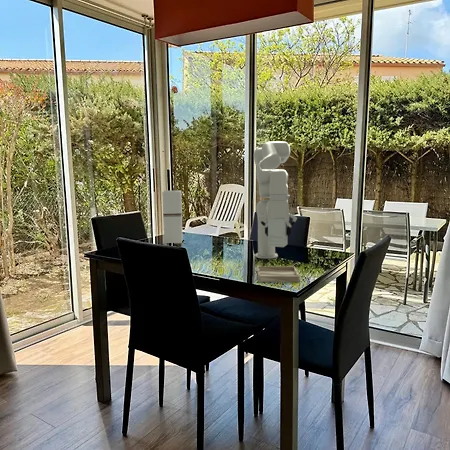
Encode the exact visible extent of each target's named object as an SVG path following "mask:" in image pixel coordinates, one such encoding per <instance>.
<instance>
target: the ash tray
mask: <svg viewBox="0 0 450 450" xmlns="http://www.w3.org/2000/svg"><path fill="white" fill-rule="evenodd" d="M256 268H257V270H256V271H257V279H258V283H300V282H301V276H300V274H299V272H298V269H297V268H296V266H257V267H256Z"/></svg>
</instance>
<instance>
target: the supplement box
mask: <svg viewBox="0 0 450 450" xmlns="http://www.w3.org/2000/svg"><path fill="white" fill-rule="evenodd" d="M287 227H288V225H287V224H286V223H285V219H268V246H273V247H275V248H276V247H277V248H285V247H286V246H287V245H288V236H287Z"/></svg>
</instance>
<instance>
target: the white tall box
mask: <svg viewBox="0 0 450 450" xmlns="http://www.w3.org/2000/svg"><path fill="white" fill-rule="evenodd" d="M162 214H163V215H162V216H163V217H162V219H163V220H162V221H163V222H162V223H163V244H164V243H174V244H182V241H183V209H182V190H163V191H162ZM182 245H183V244H182Z"/></svg>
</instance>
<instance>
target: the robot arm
mask: <svg viewBox="0 0 450 450" xmlns="http://www.w3.org/2000/svg"><path fill="white" fill-rule="evenodd" d="M290 155H291V147H290V145H289V143H288V142H287V141H268V142H265V143H263V144H262V146H261V147H259V148H256V149H255V150H254V152H253V160H254V164H255V167H256V170H255V174H256V180H257V183H258V195H259V197H261V198H269V199H264V200H260V201H258V202H257V203H256V206H255V207H256V210H255V211H256V215H257V252H256V253H255V257H256V258H258V259H263V260H265V259H267V260H270V259H277V258H278V257H279V255H278V253H277V252H276V247H273V246H268V219H285V223H286V224H287V237H290V235H291V234H292V233H291V232H292V227H293V225H295V223H296V221H297V220H298V217H297V216H295V215H293V214H291V213H290V207H289V199H290V197H291V195H290V194H289V188H288V187H289V186H288V181H289V174H288V172H287V171H286V170H285V169H283V168H282V169H281V168H280V169H278V168H279V166H280V165H281V164H284V163H286V162H287V160H288V159H289V157H290ZM290 218H291V219H292V221H290Z"/></svg>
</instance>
